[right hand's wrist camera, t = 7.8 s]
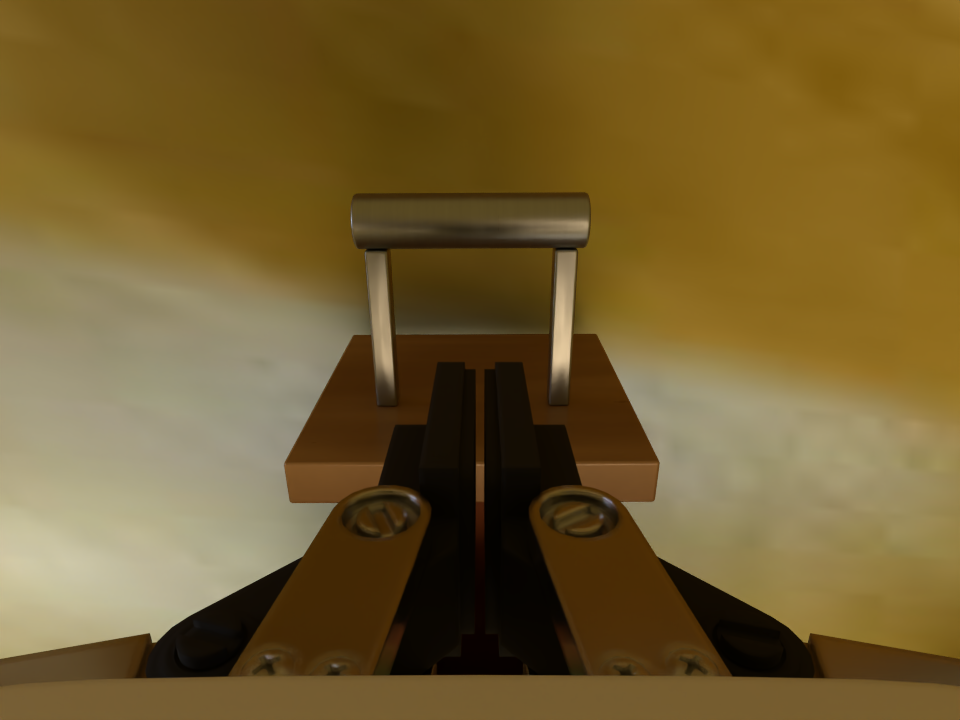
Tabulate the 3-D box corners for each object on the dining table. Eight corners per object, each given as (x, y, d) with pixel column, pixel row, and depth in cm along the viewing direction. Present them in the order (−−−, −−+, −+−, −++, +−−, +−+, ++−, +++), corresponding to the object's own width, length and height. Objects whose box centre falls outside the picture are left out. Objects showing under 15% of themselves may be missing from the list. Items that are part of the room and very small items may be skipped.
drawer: (337, 170, 20) (244, 216, 12) (609, 168, 20) (693, 214, 12) (385, 683, 30) (350, 897, 22) (570, 683, 30) (603, 897, 22)
